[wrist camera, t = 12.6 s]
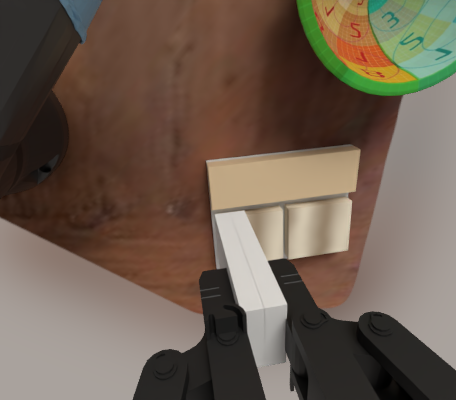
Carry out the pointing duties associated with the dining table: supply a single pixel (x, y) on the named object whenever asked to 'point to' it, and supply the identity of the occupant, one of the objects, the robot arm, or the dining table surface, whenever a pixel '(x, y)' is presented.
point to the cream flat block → (268, 229)
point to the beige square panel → (317, 227)
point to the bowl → (383, 42)
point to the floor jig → (280, 180)
